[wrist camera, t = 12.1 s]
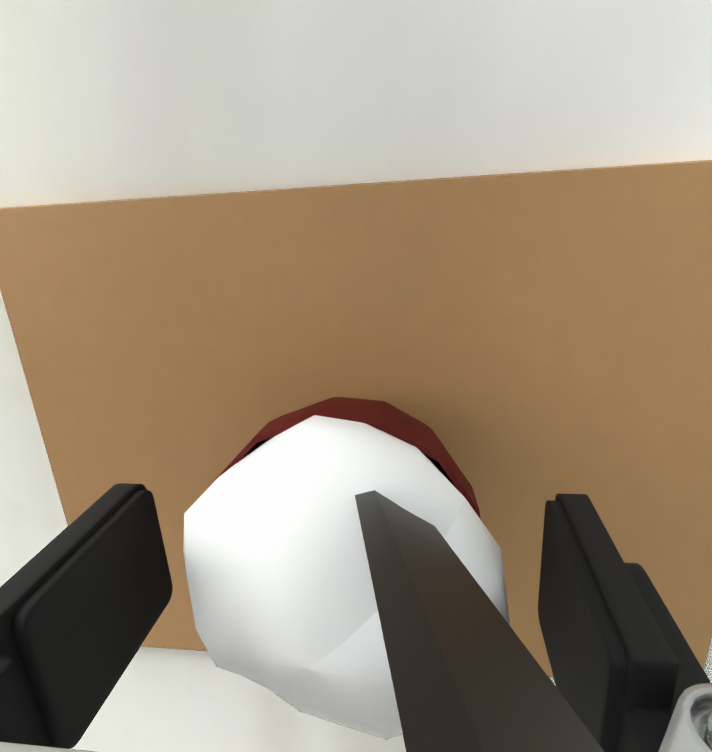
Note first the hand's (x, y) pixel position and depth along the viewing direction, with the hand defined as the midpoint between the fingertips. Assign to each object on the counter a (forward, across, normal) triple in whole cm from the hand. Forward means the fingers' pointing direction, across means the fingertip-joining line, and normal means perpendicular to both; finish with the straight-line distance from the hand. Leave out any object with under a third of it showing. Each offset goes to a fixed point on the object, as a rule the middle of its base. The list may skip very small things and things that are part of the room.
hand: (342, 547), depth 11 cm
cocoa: (+4, 0, 0) cm, 4 cm away
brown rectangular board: (+4, 0, 0) cm, 4 cm away
